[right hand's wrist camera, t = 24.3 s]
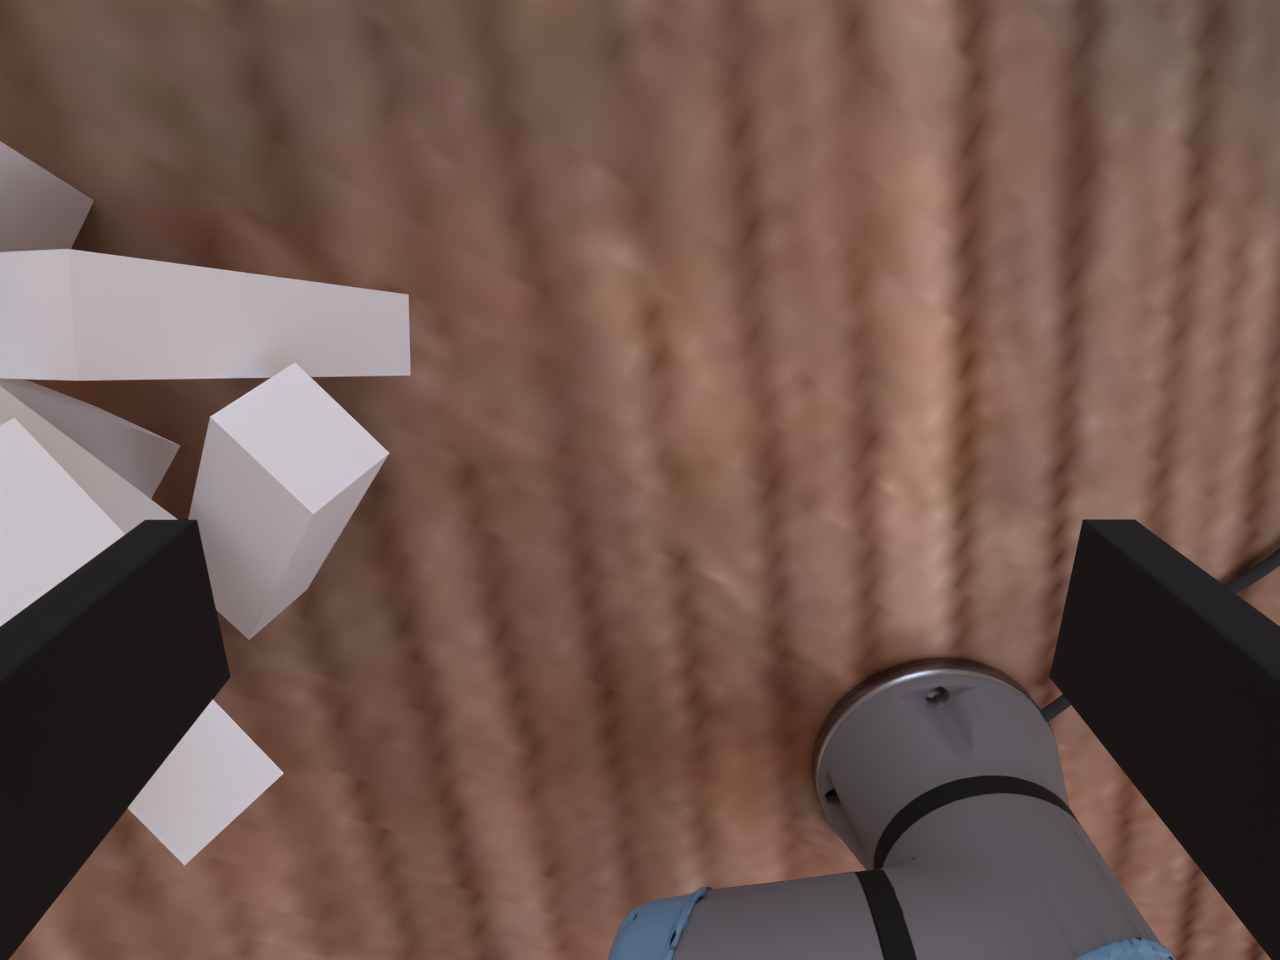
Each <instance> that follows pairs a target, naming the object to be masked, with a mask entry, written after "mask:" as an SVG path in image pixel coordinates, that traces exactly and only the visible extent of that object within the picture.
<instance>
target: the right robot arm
mask: <svg viewBox="0 0 1280 960" xmlns="http://www.w3.org/2000/svg"><path fill="white" fill-rule="evenodd" d="M1279 566H1280V548H1279V549H1278V550H1277V551H1275V552H1274V553H1272V554H1271V555H1270V556H1268V557H1267V558H1266V559H1264V560H1263V561H1261V562H1260V563H1258V564H1257V565H1255V566H1254V567H1252V568H1251V569H1249V570H1248V571H1246V572H1245V573H1243V574H1242V575H1240V576H1238V577H1237V578H1235V579H1233V580H1232V581H1230V582H1228V583H1227V584H1225V585H1223V584H1221V583H1220V582H1219V581H1217V580H1216V579H1214V578H1213V577H1212V576H1210V575H1209V574H1208V573H1206V572H1205V571H1204V570H1202V569H1201V568H1200V567H1198V566H1197V565H1196V564H1194V563H1193V562H1191V561H1190V560H1189V559H1187V558H1186V557H1185V556H1183V555H1182V554H1181V553H1179V552H1178V551H1177V550H1175V549H1174V548H1172V547H1171V546H1170V545H1168V544H1167V543H1166V542H1164V541H1163V540H1162V539H1160V538H1159V537H1158V536H1156V535H1155V534H1153V533H1152V532H1151V531H1149V530H1148V529H1147V528H1145V527H1144V526H1143V525H1141V524H1140V523H1139V522H1137V521H1136V520H1083V522H1082V527H1081V531H1080V536H1079V541H1078V546H1077V550H1076V555H1075V560H1074V564H1073V569H1072V574H1071V579H1070V583H1069V588H1068V593H1067V598H1066V602H1065V607H1064V612H1063V617H1062V621H1061V626H1060V631H1059V636H1058V640H1057V645H1056V650H1055V654H1054V659H1053V664H1052V669H1051V673H1050V678H1051V679H1052V681H1053V682H1054V683H1055V684H1056V686H1057V687H1058V688H1059V689H1060V691H1061V692H1062V693H1063V695H1061V696H1060V697H1059V698H1057V699H1056V700H1054V701H1053V702H1052V703H1050V704H1049V705H1048V706H1046V707H1045V708H1043V709H1042V710H1040V709H1039V707H1038V706H1037V704H1036V703H1035V702H1034V700H1033V699H1032V698H1031V696H1030V695H1029V694H1028V693H1027V691H1026V690H1025V689H1024V688H1023V687H1022V686H1021V685H1020V684H1018V683H1017V682H1016V681H1014V680H1013V679H1012V678H1010V677H1009V676H1007V675H1006V674H1004V673H1002V672H1000V671H998V670H996V669H994V668H992V667H989V666H986V665H983V664H980V663H976V662H972V661H967V660H961V659H948V658H947V659H926V660H920V661H914V662H909V663H906V664H902V665H898V666H896V667H893V668H890V669H887V670H885V671H883V672H881V673H878V674H876V675H874V676H873V677H871V678H869V679H867V680H866V681H864V682H863V683H861V684H860V685H858V686H857V687H855V688H854V689H853V690H852V691H850V692H849V693H848V694H847V695H846V696H845V697H844V698H843V699H842V700H840V702H839V703H838V704H837V705H836V706H835V707H834V708H833V710H832V711H831V712H830V714H829V715H828V717H827V718H826V720H825V722H824V723H823V725H822V727H821V729H820V731H819V734H818V736H817V739H816V742H815V746H814V751H813V758H812V772H813V778H814V783H815V786H816V790H817V794H818V797H819V801H820V804H821V807H822V809H823V812H824V814H825V816H826V818H827V819H828V821H829V823H830V824H831V825H832V827H833V829H834V830H835V831H836V833H837V834H838V835H839V837H840V838H841V839H842V840H843V841H844V843H845V844H846V845H847V846H848V848H849V849H850V850H851V851H852V853H853V854H854V855H855V856H856V858H857V859H858V860H859V861H860V863H861V864H862V865H863V866H864V868H865V869H866V870H867V871H859V872H848V873H840V874H833V875H826V876H818V877H811V878H804V879H796V880H789V881H780V882H772V883H763V884H754V885H746V886H737V887H729V888H720V889H713V888H710V887H702V888H700V889H698V890H696V891H695V892H693V893H691V894H687V895H682V896H677V897H671V898H666V899H660V900H655V901H650V902H646V903H644V904H641V905H639V906H638V907H636V908H635V909H633V910H632V911H631V912H630V913H629V914H628V915H627V916H626V918H625V919H624V921H623V922H622V923H621V925H620V927H619V930H618V932H617V935H616V937H615V939H614V941H613V944H612V948H611V951H610V955H609V959H608V960H1175V958H1174V957H1173V956H1172V954H1171V953H1170V951H1169V950H1168V949H1167V948H1166V947H1164V946H1163V945H1161V943H1160V942H1159V940H1158V939H1157V937H1156V936H1155V934H1154V933H1153V931H1152V930H1151V928H1150V927H1149V925H1148V924H1147V922H1146V921H1145V919H1144V918H1143V917H1142V915H1141V914H1140V912H1139V911H1138V909H1137V908H1136V906H1135V905H1134V903H1133V902H1132V900H1131V899H1130V897H1129V896H1128V894H1127V893H1126V891H1125V890H1124V888H1123V887H1122V885H1121V884H1120V882H1119V881H1118V879H1117V878H1116V876H1115V875H1114V874H1113V872H1112V871H1111V869H1110V868H1109V866H1108V865H1107V863H1106V862H1105V860H1104V859H1103V857H1102V856H1101V854H1100V853H1099V851H1098V850H1097V848H1096V847H1095V845H1094V844H1093V842H1092V841H1091V839H1090V838H1089V836H1088V835H1087V833H1086V832H1085V831H1084V829H1083V828H1082V826H1081V825H1080V823H1079V822H1078V820H1077V819H1076V817H1075V816H1074V814H1073V813H1072V811H1071V809H1070V807H1069V802H1068V797H1067V792H1066V787H1065V782H1064V777H1063V773H1062V768H1061V764H1060V759H1059V753H1058V748H1057V744H1056V740H1055V737H1054V734H1053V731H1052V729H1051V726H1050V724H1049V722H1048V721H1050V720H1051V719H1052V718H1054V717H1055V716H1057V715H1058V714H1059V713H1061V712H1062V711H1063V710H1065V709H1066V708H1068V707H1069V706H1070V705H1072V706H1073V707H1074V709H1075V710H1076V711H1077V712H1078V714H1079V715H1080V716H1081V718H1082V719H1083V720H1084V721H1085V723H1086V724H1087V725H1088V726H1089V728H1090V729H1091V730H1092V732H1093V733H1094V734H1095V735H1096V737H1097V738H1098V739H1099V740H1100V742H1101V743H1102V744H1103V746H1104V747H1105V748H1106V749H1107V751H1108V752H1109V753H1110V754H1111V756H1112V757H1113V758H1114V760H1115V761H1116V762H1117V763H1118V765H1119V766H1120V767H1121V768H1122V770H1123V771H1124V772H1125V774H1126V775H1127V776H1128V777H1129V779H1130V780H1131V781H1132V783H1133V784H1134V785H1135V786H1136V788H1137V789H1138V790H1139V791H1140V793H1141V794H1142V795H1143V797H1144V798H1145V799H1146V800H1147V802H1148V803H1149V804H1150V805H1151V807H1152V808H1153V809H1154V811H1155V812H1156V813H1157V814H1158V816H1159V817H1160V818H1161V819H1162V821H1163V822H1164V823H1165V825H1166V826H1167V827H1168V828H1169V830H1170V831H1171V832H1172V833H1173V835H1174V836H1175V837H1176V839H1177V840H1178V841H1179V842H1180V844H1181V845H1182V846H1183V848H1184V849H1185V850H1186V851H1187V853H1188V854H1189V855H1190V856H1191V858H1192V859H1193V860H1194V862H1195V863H1196V864H1197V865H1198V867H1199V868H1200V869H1201V870H1202V872H1203V873H1204V874H1205V876H1206V877H1207V878H1208V879H1209V881H1210V882H1211V883H1212V884H1213V886H1214V887H1215V888H1216V890H1217V891H1218V892H1219V893H1220V895H1221V896H1222V897H1223V898H1224V900H1225V901H1226V902H1227V904H1228V905H1229V906H1230V907H1231V909H1232V910H1233V911H1234V912H1235V914H1236V915H1237V916H1238V918H1239V919H1240V920H1241V921H1242V923H1243V924H1244V925H1245V927H1246V928H1247V929H1248V930H1249V932H1250V933H1251V934H1252V935H1253V937H1254V938H1255V939H1256V941H1257V942H1258V943H1259V944H1260V946H1261V947H1262V948H1263V949H1264V951H1265V952H1266V953H1267V955H1268V956H1269V957H1270V958H1271V960H1280V626H1278V625H1277V624H1276V623H1274V622H1273V621H1271V620H1270V619H1269V618H1267V617H1266V616H1265V615H1263V614H1262V613H1261V612H1259V611H1258V610H1257V609H1255V608H1254V607H1252V606H1251V605H1250V604H1248V603H1247V602H1246V601H1244V600H1243V599H1242V598H1240V597H1239V596H1238V595H1236V593H1238V592H1240V591H1241V590H1243V589H1245V588H1246V587H1248V586H1250V585H1251V584H1253V583H1255V582H1256V581H1258V580H1259V579H1261V578H1262V577H1264V576H1265V575H1267V574H1268V573H1270V572H1271V571H1273V570H1274V569H1276V568H1277V567H1279ZM229 678H230V673H229V669H228V664H227V659H226V654H225V650H224V645H223V640H222V636H221V631H220V626H219V621H218V617H217V612H216V607H215V602H214V598H213V593H212V588H211V583H210V579H209V574H208V569H207V564H206V560H205V555H204V550H203V546H202V541H201V536H200V531H199V527H198V522H197V520H144V521H143V522H141V523H140V524H139V525H137V526H136V527H135V528H133V529H132V530H131V531H129V532H128V533H127V534H125V535H124V536H122V537H121V538H120V539H118V540H117V541H116V542H114V543H113V544H112V545H110V546H109V547H108V548H106V549H105V550H103V551H102V552H101V553H99V554H98V555H97V556H95V557H94V558H93V559H91V560H90V561H89V562H87V563H86V564H84V565H83V566H82V567H80V568H79V569H78V570H76V571H75V572H74V573H72V574H71V575H70V576H68V577H67V578H66V579H64V580H63V581H61V582H60V583H59V584H57V585H56V586H55V587H53V588H52V589H51V590H49V591H48V592H47V593H45V594H44V595H42V596H41V597H40V598H38V599H37V600H36V601H34V602H33V603H32V604H30V605H29V606H28V607H26V608H25V609H23V610H22V611H21V612H19V613H18V614H17V615H15V616H14V617H13V618H11V619H10V620H9V621H7V622H6V623H4V624H3V625H2V626H0V960H9V958H10V957H11V956H12V955H13V953H14V952H15V951H16V949H17V948H18V947H19V946H20V944H21V943H22V942H23V941H24V939H25V938H26V937H27V935H28V934H29V933H30V932H31V930H32V929H33V928H34V927H35V925H36V924H37V923H38V921H39V920H40V919H41V918H42V916H43V915H44V914H45V913H46V911H47V910H48V909H49V907H50V906H51V905H52V904H53V902H54V901H55V900H56V898H57V897H58V896H59V895H60V893H61V892H62V891H63V890H64V888H65V887H66V886H67V884H68V883H69V882H70V881H71V879H72V878H73V877H74V876H75V874H76V873H77V872H78V870H79V869H80V868H81V867H82V865H83V864H84V863H85V862H86V860H87V859H88V858H89V856H90V855H91V854H92V853H93V851H94V850H95V849H96V848H97V846H98V845H99V844H100V842H101V841H102V840H103V839H104V837H105V836H106V835H107V833H108V832H109V831H110V830H111V828H112V827H113V826H114V825H115V823H116V822H117V821H118V819H119V818H120V817H121V816H122V814H123V813H124V812H125V811H126V809H127V808H128V807H129V805H130V804H131V803H132V802H133V800H134V799H135V798H136V797H137V795H138V794H139V793H140V791H141V790H142V789H143V788H144V786H145V785H146V784H147V783H148V781H149V780H150V779H151V777H152V776H153V775H154V774H155V772H156V771H157V770H158V768H159V767H160V766H161V765H162V763H163V762H164V761H165V760H166V758H167V757H168V756H169V754H170V753H171V752H172V751H173V749H174V748H175V747H176V746H177V744H178V743H179V742H180V740H181V739H182V738H183V737H184V735H185V734H186V733H187V732H188V730H189V729H190V728H191V726H192V725H193V724H194V723H195V721H196V720H197V719H198V718H199V716H200V715H201V714H202V712H203V711H204V710H205V709H206V707H207V706H208V705H209V704H210V702H211V701H212V700H213V698H214V697H215V696H216V695H217V693H218V692H219V691H220V689H221V688H222V687H223V686H224V684H225V683H226V682H227V681H228V679H229Z"/></svg>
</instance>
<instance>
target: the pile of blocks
mask: <svg viewBox="0 0 1280 960" xmlns="http://www.w3.org/2000/svg"><path fill="white" fill-rule="evenodd" d="M93 202H94V200H93V199H91V198H89V197H88V196H86V195H85V194H83V193H81V192H80V191H78V190H77V189H75V188H74V187H72V186H70V185H69V184H67V183H66V182H64V181H62V180H61V179H59V178H58V177H56V176H54V175H53V174H51V173H50V172H48V171H47V170H45V169H43V168H42V167H40V166H39V165H37V164H35V163H34V162H32V161H31V160H29V159H28V158H26V157H24V156H23V155H21V154H20V153H18V152H16V151H15V150H13V149H12V148H10V147H9V146H7V145H5V144H4V143H2V142H1V141H0V626H2V625H3V624H4V623H6V622H7V621H9V620H10V619H11V618H13V617H14V616H15V615H17V614H18V613H19V612H21V611H22V610H23V609H25V608H26V607H28V606H29V605H30V604H32V603H33V602H34V601H36V600H37V599H38V598H40V597H41V596H42V595H44V594H45V593H47V592H48V591H49V590H51V589H52V588H53V587H55V586H56V585H57V584H59V583H60V582H61V581H63V580H64V579H66V578H67V577H68V576H70V575H71V574H72V573H74V572H75V571H76V570H78V569H79V568H80V567H82V566H83V565H84V564H86V563H87V562H89V561H90V560H91V559H93V558H94V557H95V556H97V555H98V554H99V553H101V552H102V551H103V550H105V549H106V548H108V547H109V546H110V545H112V544H113V543H114V542H116V541H117V540H118V539H120V538H121V537H122V536H124V535H125V534H127V533H128V532H129V531H131V530H132V529H133V528H135V527H136V526H137V525H139V524H140V523H141V522H143V521H144V520H178V519H176V518H175V517H174V516H172V515H171V514H170V513H168V512H167V511H166V510H164V509H163V508H162V507H160V506H159V505H158V504H156V503H155V502H154V501H152V500H151V498H152V497H153V495H154V493H155V491H156V489H157V488H158V486H159V484H160V482H161V480H162V479H163V477H164V475H165V473H166V471H167V469H168V468H169V466H170V464H171V462H172V460H173V459H174V457H175V455H176V453H177V451H178V449H179V448H180V446H181V445H178V444H176V443H174V442H172V441H170V440H168V439H165V438H163V437H161V436H159V435H157V434H155V433H152V432H150V431H148V430H146V429H144V428H142V427H139V426H137V425H135V424H133V423H131V422H129V421H126V420H124V419H122V418H120V417H118V416H116V415H113V414H111V413H109V412H107V411H105V410H103V409H100V408H98V407H96V406H93V405H91V404H88V403H86V402H83V401H80V400H78V399H75V398H72V397H70V396H67V395H65V394H62V393H59V392H57V391H54V390H52V389H49V388H46V387H44V386H41V385H38V384H36V383H33V382H31V381H28V380H25V379H38V380H73V381H87V380H151V379H214V378H270V379H268V380H267V381H265V382H264V383H262V384H261V385H259V386H257V387H256V388H254V389H253V390H251V391H250V392H248V393H246V394H245V395H243V396H242V397H240V398H239V399H237V400H235V401H234V402H232V403H231V404H229V405H228V406H226V407H225V408H223V409H221V410H220V411H218V412H217V413H215V414H214V415H212V416H210V420H209V424H208V429H207V434H206V438H205V443H204V448H203V453H202V457H201V462H200V467H199V471H198V476H197V481H196V485H195V490H194V495H193V500H192V504H191V509H190V514H189V518H188V520H197V522H198V527H199V531H200V536H201V541H202V546H203V550H204V555H205V560H206V564H207V569H208V574H209V579H210V583H211V588H212V593H213V598H214V602H215V607H216V610H217V611H218V612H219V613H220V614H221V615H222V616H224V617H225V618H226V619H227V620H228V621H229V622H230V623H231V624H232V625H233V626H234V627H236V628H237V629H238V630H239V631H240V632H241V633H242V634H243V635H244V636H245V637H246V638H247V639H249V640H250V639H251V638H252V637H253V636H254V635H256V634H257V633H258V632H259V631H260V630H261V629H262V628H264V627H265V626H266V625H267V624H268V623H269V622H270V621H272V620H273V619H274V618H275V617H276V616H277V615H278V614H280V613H281V612H282V611H283V610H284V609H285V608H286V607H288V606H289V605H290V604H291V603H292V602H293V601H294V600H296V599H297V598H298V597H299V596H300V595H301V594H302V593H304V592H305V591H306V590H307V589H308V587H309V585H310V584H311V582H312V580H313V579H314V577H315V575H316V574H317V572H318V570H319V569H320V567H321V565H322V564H323V562H324V561H325V559H326V557H327V556H328V554H329V552H330V551H331V549H332V547H333V546H334V544H335V542H336V541H337V539H338V537H339V536H340V534H341V532H342V531H343V529H344V527H345V526H346V524H347V522H348V521H349V519H350V517H351V516H352V514H353V513H354V511H355V509H356V508H357V506H358V504H359V503H360V501H361V499H362V498H363V496H364V494H365V493H366V491H367V489H368V488H369V486H370V484H371V483H372V481H373V479H374V478H375V476H376V474H377V473H378V471H379V469H380V468H381V466H382V465H383V463H384V461H385V460H386V458H387V456H388V455H389V452H388V451H387V450H386V449H385V448H384V447H383V446H382V445H381V444H380V443H378V442H377V441H376V440H375V439H374V438H373V437H372V436H371V435H370V434H369V433H368V432H367V431H366V430H365V429H364V428H363V427H362V426H361V425H360V424H359V423H358V422H357V421H356V420H355V419H354V418H352V417H351V416H350V415H349V414H348V413H347V412H346V411H345V410H344V409H343V408H342V407H341V406H340V405H339V404H338V403H337V402H336V401H335V400H334V399H333V398H332V397H331V396H330V395H329V394H328V393H326V392H325V391H324V390H323V389H322V388H321V387H320V386H319V385H318V384H317V383H316V382H315V381H314V380H313V379H312V378H311V377H342V376H405V375H411V374H410V333H409V295H408V294H401V293H393V292H386V291H378V290H371V289H363V288H356V287H348V286H341V285H333V284H326V283H319V282H311V281H304V280H296V279H289V278H281V277H274V276H266V275H259V274H251V273H244V272H236V271H229V270H222V269H214V268H207V267H199V266H192V265H184V264H177V263H169V262H162V261H154V260H147V259H139V258H132V257H124V256H117V255H110V254H102V253H95V252H87V251H80V250H72V249H71V248H72V246H73V244H74V242H75V240H76V238H77V235H78V233H79V231H80V229H81V227H82V225H83V223H84V221H85V219H86V217H87V215H88V213H89V211H90V209H91V206H92V204H93ZM282 774H283V772H282V771H281V770H280V769H279V768H278V767H277V766H276V765H275V764H274V763H273V762H272V760H271V759H270V758H269V757H268V756H267V755H266V754H265V753H264V752H263V751H262V750H261V749H260V748H259V747H258V746H257V745H256V744H255V743H254V742H253V741H252V740H251V739H250V738H249V737H248V735H247V734H246V733H245V732H244V731H243V730H242V729H241V728H240V727H239V726H238V725H237V724H236V723H235V722H234V721H233V720H232V719H231V718H230V717H229V716H228V715H227V714H226V713H225V712H224V711H223V709H222V708H221V707H220V706H219V705H218V704H217V703H216V702H215V701H214V700H212V701H211V702H210V704H209V705H208V706H207V707H206V709H205V710H204V711H203V712H202V714H201V715H200V716H199V718H198V719H197V720H196V721H195V723H194V724H193V725H192V726H191V728H190V729H189V730H188V732H187V733H186V734H185V735H184V737H183V738H182V739H181V740H180V742H179V743H178V744H177V746H176V747H175V748H174V749H173V751H172V752H171V753H170V754H169V756H168V757H167V758H166V760H165V761H164V762H163V763H162V765H161V766H160V767H159V768H158V770H157V771H156V772H155V774H154V775H153V776H152V777H151V779H150V780H149V781H148V783H147V784H146V785H145V786H144V788H143V789H142V790H141V791H140V793H139V794H138V795H137V797H136V798H135V799H134V800H133V802H132V803H131V804H130V805H129V807H128V809H129V810H130V811H131V812H132V813H133V814H134V815H135V816H136V817H137V818H138V819H139V820H140V821H141V822H142V823H143V824H144V825H145V826H146V827H147V828H148V829H149V830H150V831H151V832H152V833H153V834H154V835H155V836H156V837H157V838H158V839H159V840H160V841H161V842H162V843H163V844H164V845H165V846H166V847H167V848H168V849H169V850H170V851H171V852H172V853H173V854H174V855H175V856H176V857H177V858H178V859H179V860H180V861H181V862H182V863H183V865H186V864H187V863H188V862H189V861H190V860H191V859H192V858H193V857H194V856H195V855H196V854H197V853H198V852H200V851H201V850H202V849H203V848H204V847H205V846H206V845H207V844H208V843H209V842H210V841H211V840H212V839H214V838H215V837H216V836H217V835H218V834H219V833H220V832H221V831H222V830H223V829H224V828H225V827H226V826H228V825H229V824H230V823H231V822H232V821H233V820H234V819H235V818H236V817H237V816H238V815H239V814H240V813H241V812H243V811H244V810H245V809H246V808H247V807H248V806H249V805H250V804H251V803H252V802H253V801H254V800H255V799H257V798H258V797H259V796H260V795H261V794H262V793H263V792H264V791H265V790H266V789H267V788H268V787H269V786H271V785H272V784H273V783H274V782H275V781H276V780H277V779H278V778H279V777H280V776H281V775H282Z"/></svg>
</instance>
